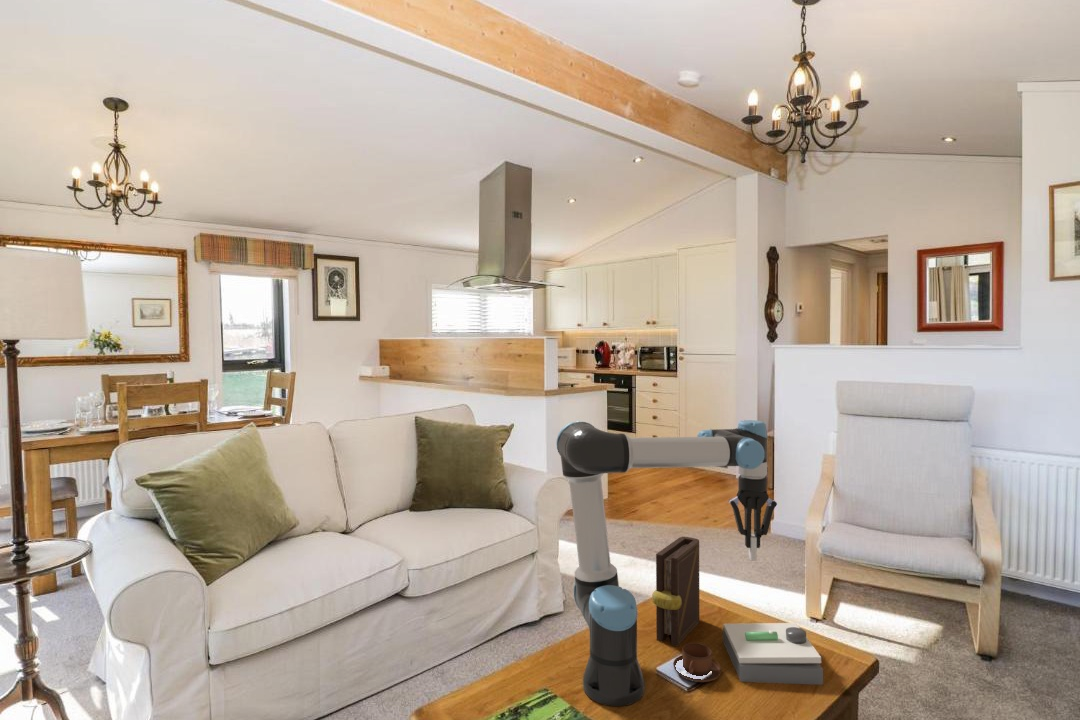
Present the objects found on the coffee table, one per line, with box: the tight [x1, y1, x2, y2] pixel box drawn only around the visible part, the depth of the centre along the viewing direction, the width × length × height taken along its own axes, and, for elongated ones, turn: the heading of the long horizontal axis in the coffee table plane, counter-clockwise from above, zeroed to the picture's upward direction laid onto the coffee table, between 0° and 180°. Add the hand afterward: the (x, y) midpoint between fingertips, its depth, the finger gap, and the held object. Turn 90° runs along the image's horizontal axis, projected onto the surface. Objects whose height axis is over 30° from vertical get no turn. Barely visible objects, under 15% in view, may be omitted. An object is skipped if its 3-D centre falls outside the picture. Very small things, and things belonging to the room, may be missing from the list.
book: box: [651, 536, 700, 647], centre depth 173 cm, size 22×8×25 cm, turn 144°
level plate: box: [723, 622, 822, 664], centre depth 156 cm, size 20×18×4 cm
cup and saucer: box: [672, 642, 722, 683], centre depth 151 cm, size 12×12×6 cm
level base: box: [722, 626, 824, 686], centre depth 156 cm, size 20×20×4 cm
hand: (752, 558), depth 165 cm, fingers closed
